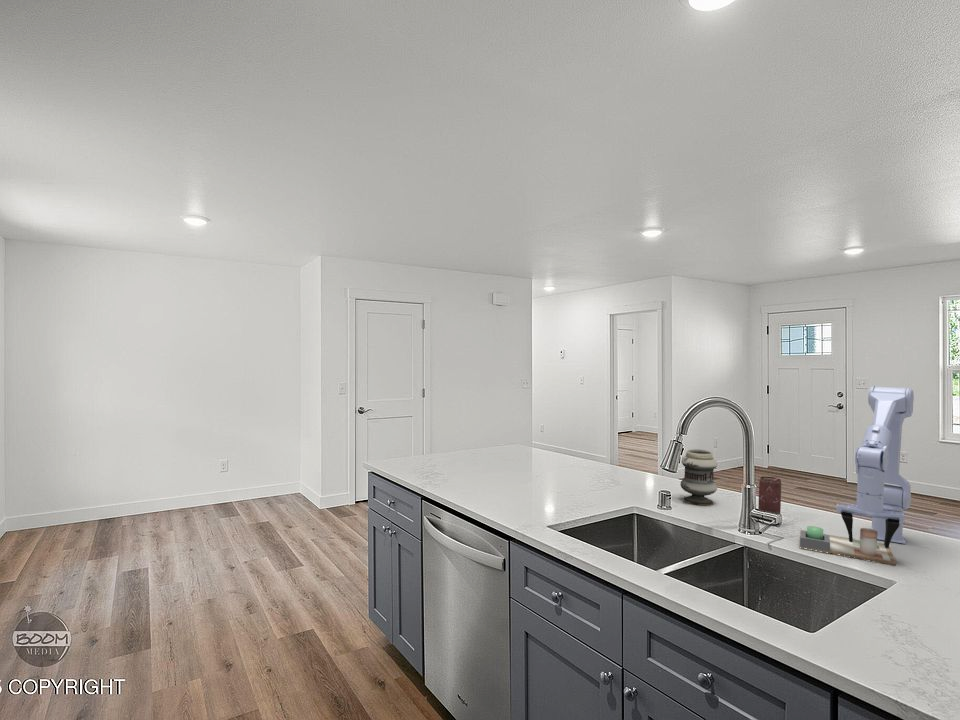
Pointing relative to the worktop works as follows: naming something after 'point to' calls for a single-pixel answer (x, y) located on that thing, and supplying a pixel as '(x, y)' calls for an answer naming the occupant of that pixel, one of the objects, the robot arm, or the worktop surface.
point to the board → (857, 550)
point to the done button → (815, 532)
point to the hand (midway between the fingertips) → (868, 544)
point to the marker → (868, 541)
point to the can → (770, 494)
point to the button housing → (815, 542)
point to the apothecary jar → (699, 476)
